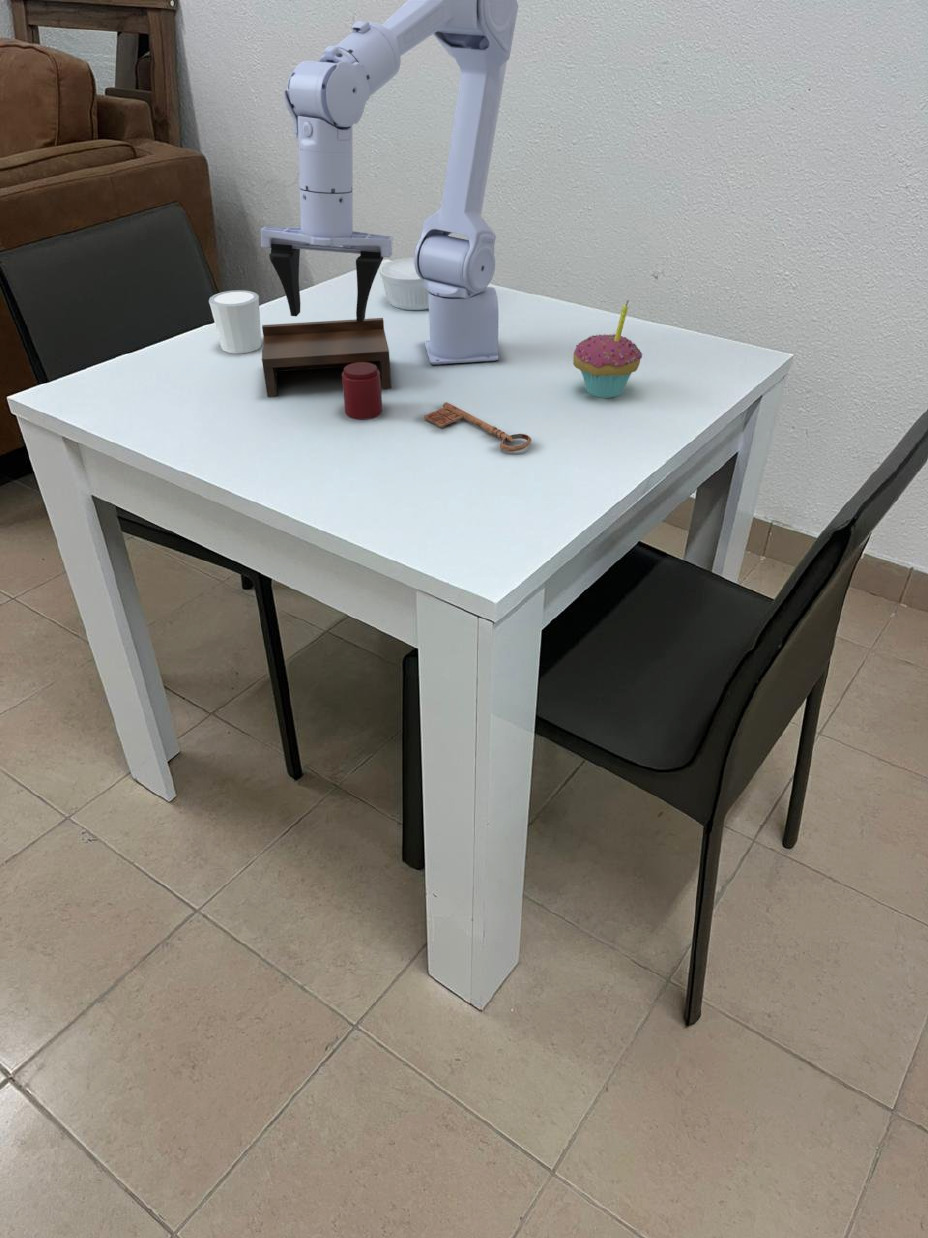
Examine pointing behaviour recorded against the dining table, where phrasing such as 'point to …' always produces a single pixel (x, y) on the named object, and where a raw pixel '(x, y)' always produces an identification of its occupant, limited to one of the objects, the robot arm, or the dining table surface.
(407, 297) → the ramekin
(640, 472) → the dining table surface
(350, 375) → the red lidded jar
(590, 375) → the cupcake
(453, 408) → the key
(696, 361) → the dining table surface
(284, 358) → the shelf
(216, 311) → the white cup
